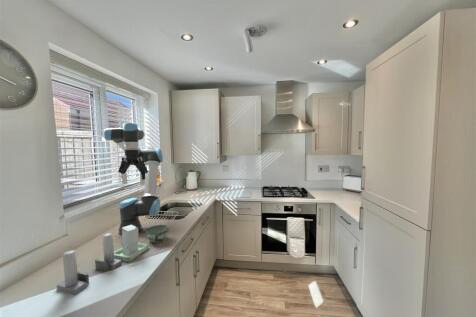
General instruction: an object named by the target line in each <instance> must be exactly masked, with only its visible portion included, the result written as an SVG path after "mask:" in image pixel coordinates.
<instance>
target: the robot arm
mask: <svg viewBox="0 0 476 317" xmlns="http://www.w3.org/2000/svg"><path fill="white" fill-rule="evenodd" d="M144 137H145V131H144V130H143V129H141V128H140V127H138V123H135V122H125V123H123V125H122V127H114V128H113V127H111V128H109V127H108V128H105V129H104V130H103V138H104V139H105V141H113V142H114V143H115V144H116V145H118V147H119V148H120V149H122V150H123V151H124V157H123V156H122V157H121V162H120V165H119V167H118V168H119V169H118V170H117V172H118V173H120V174H121V180H122V185H123V186H124V185H127V184H128V173H127V171H128V169H129V168H130V166H135V167H136V169H137V170H138V171H139V173H140V174H139V180H140V181H139V182H140V186H144V191H143V194H142V196H141V199H138V197H132V198H128V199H125V200H122V201H120V202H119V214H120V224H119V228H118V234H119V235H121V236H122V227H125V226H129V225H133V226H135V227H137V228H138V233H139V232H140V231H141V230H142V229H143V226H142V224H141V221H140V219H139V218H140V217H146V216H147V217H148V216H150V217H151V216H157V215H158V214H159V211H160V209H161V199H160V198H159V197H158V194H157V190H158V189H157V187H158V174H159V166H160V165H161V163H163V160H164V156H163V152H162V149H161V148H159V147H156V148H155V147H151V148H150V147H149V148H145V147H143V148H141V147H139V141H141V140H143V139H144Z"/></svg>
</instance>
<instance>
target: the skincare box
mask: <svg viewBox="0 0 476 317" xmlns="http://www.w3.org/2000/svg"><path fill="white" fill-rule="evenodd" d="M121 238H122V239H121V245H122V246H121V248H122V252H123V253H125V254H126V255H127V256H130V255H132V254H133V253H135V252H136V251H138V250H139V247H138V243H139V232H138V228H137V227H135V226H133V225H129V226H125V227H122V235H121Z"/></svg>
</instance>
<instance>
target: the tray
mask: <svg viewBox="0 0 476 317" xmlns="http://www.w3.org/2000/svg"><path fill="white" fill-rule="evenodd" d="M138 247H139V250H138V251H136V252H135V253H133V254H132V255H130V256H127V255H126V254H125V253H123V252H122V247H120V248H119V249H117V250H115V251H114V259H119V260H122V262H126V263H127V262H128V263H130V262H131V261H133V260H134V259H136V258H137V257H139V256H140V255H141V254H142V253H144V252H147V250H149V244H147V243H142V242H138Z"/></svg>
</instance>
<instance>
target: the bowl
mask: <svg viewBox="0 0 476 317" xmlns="http://www.w3.org/2000/svg"><path fill="white" fill-rule="evenodd" d="M168 232H169V227H168V225H165V224H158V225H153V226H150V227H149V228H147V229H146V230H145V233H146V237H147V239H148V240H149V241H150V242H152V243H154V244H159V243H161V242H163V241H164V239H165V238H166V237H167V236H168Z"/></svg>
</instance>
